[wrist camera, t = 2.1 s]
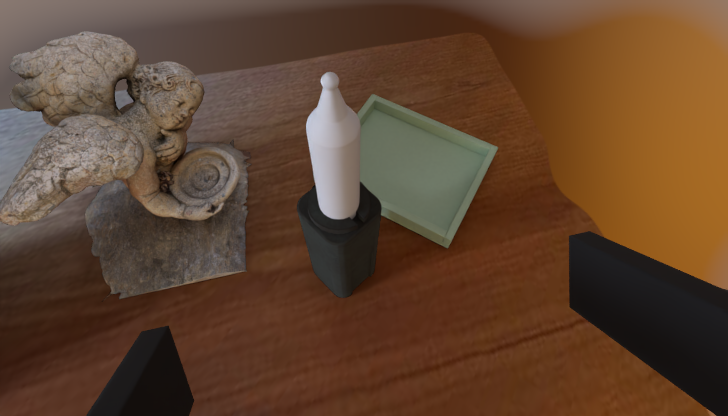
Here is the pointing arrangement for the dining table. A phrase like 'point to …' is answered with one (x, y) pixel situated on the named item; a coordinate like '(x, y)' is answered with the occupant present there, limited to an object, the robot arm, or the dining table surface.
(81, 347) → the dining table surface
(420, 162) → the tray
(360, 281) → the candle
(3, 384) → the dining table surface
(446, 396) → the dining table surface
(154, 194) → the cherub figurine
